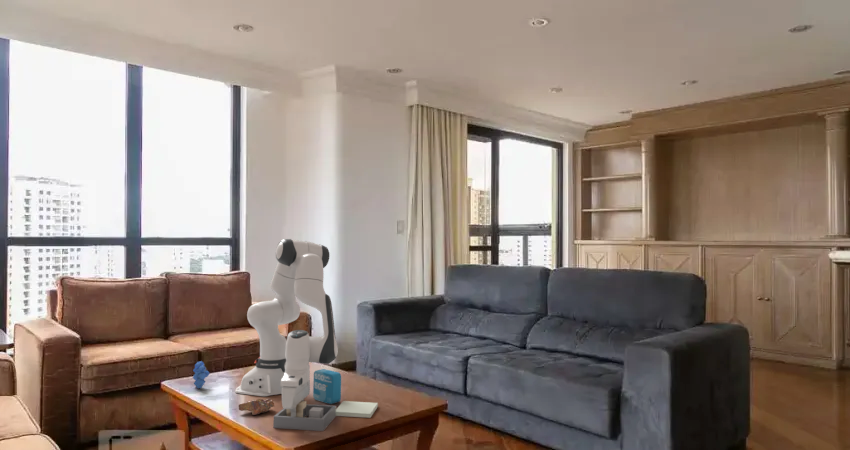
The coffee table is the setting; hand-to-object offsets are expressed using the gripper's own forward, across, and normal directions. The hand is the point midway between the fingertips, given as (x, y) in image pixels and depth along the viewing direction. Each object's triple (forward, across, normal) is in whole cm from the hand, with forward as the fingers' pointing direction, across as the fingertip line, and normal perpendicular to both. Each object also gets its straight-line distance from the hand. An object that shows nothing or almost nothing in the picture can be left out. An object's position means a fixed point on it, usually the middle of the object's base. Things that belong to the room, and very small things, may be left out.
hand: (296, 414), depth 211 cm
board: (+3, -16, +18) cm, 25 cm away
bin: (+3, 0, +4) cm, 4 cm away
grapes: (+3, -35, -55) cm, 65 cm away
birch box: (+3, 0, 0) cm, 3 cm away
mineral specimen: (+3, -7, -18) cm, 20 cm away
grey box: (+3, 0, +8) cm, 8 cm away
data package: (+3, -27, +4) cm, 27 cm away
